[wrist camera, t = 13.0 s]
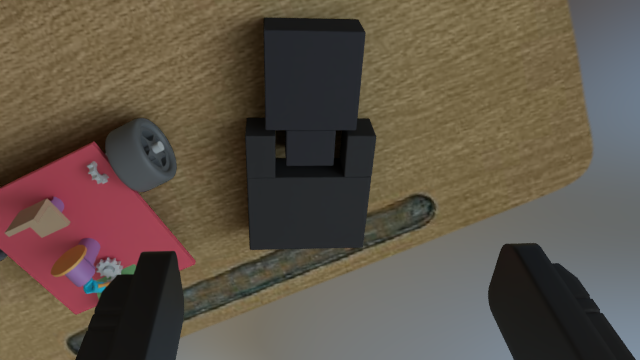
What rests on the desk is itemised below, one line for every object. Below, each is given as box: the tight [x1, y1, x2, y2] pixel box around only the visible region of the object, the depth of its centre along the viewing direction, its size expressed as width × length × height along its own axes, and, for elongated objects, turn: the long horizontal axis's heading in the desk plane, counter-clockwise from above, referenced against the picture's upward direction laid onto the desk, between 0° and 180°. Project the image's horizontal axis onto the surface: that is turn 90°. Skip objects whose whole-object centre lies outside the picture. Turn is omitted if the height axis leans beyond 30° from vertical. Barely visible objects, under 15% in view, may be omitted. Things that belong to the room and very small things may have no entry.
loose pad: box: [264, 18, 365, 166], centre depth 30 cm, size 8×6×2 cm, turn 177°
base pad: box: [245, 118, 376, 250], centre depth 33 cm, size 9×8×2 cm
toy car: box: [0, 118, 195, 315], centre depth 32 cm, size 15×12×7 cm
